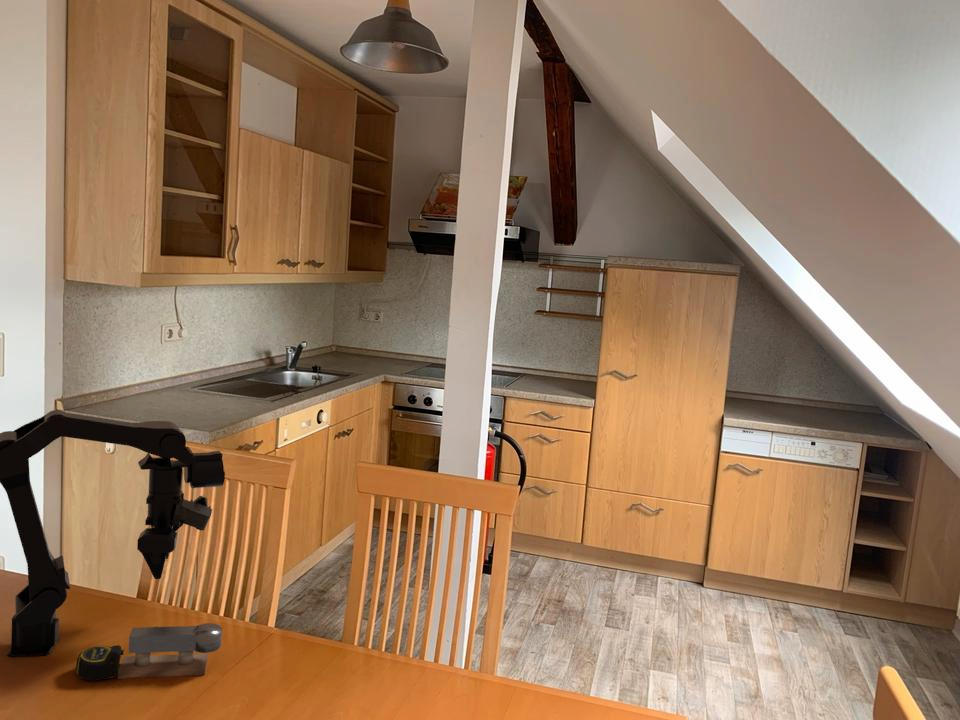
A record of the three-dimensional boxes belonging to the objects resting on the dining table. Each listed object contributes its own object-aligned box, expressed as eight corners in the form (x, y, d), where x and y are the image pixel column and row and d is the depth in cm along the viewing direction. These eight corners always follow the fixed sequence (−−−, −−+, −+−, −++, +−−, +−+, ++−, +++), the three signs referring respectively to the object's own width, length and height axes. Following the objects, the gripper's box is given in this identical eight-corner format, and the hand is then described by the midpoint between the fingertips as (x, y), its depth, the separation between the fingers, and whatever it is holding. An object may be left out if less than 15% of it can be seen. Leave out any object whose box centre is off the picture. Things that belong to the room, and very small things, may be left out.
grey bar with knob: (127, 655, 130) (128, 639, 130) (132, 641, 135) (133, 625, 134) (220, 652, 134) (221, 636, 134) (222, 638, 138) (222, 622, 138)
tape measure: (116, 683, 129) (117, 663, 128) (71, 686, 127) (72, 665, 126) (123, 662, 135) (124, 642, 135) (80, 664, 133) (81, 644, 133)
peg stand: (117, 678, 130) (118, 656, 129) (123, 662, 135) (124, 641, 134) (204, 674, 134) (205, 653, 133) (207, 659, 138) (208, 638, 138)
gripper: (205, 506, 137) (201, 589, 139) (214, 475, 155) (210, 549, 157) (138, 506, 134) (135, 590, 136) (155, 474, 152) (152, 549, 154)
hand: (161, 568), depth 146 cm, fingers open, 9 cm apart
